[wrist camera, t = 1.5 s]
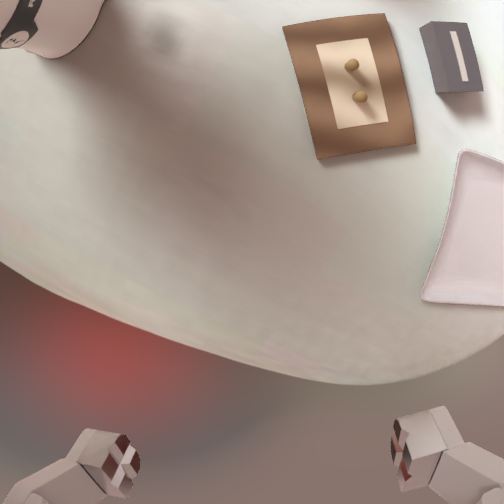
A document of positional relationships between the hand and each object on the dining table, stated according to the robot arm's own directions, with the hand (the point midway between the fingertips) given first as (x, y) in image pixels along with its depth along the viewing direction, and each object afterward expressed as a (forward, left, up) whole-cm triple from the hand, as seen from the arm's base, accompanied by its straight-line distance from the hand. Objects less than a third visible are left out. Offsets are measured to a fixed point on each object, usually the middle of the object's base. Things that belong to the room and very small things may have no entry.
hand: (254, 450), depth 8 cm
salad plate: (+12, +28, -34) cm, 45 cm away
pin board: (-10, +10, -33) cm, 36 cm away
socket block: (-12, +23, -33) cm, 42 cm away
